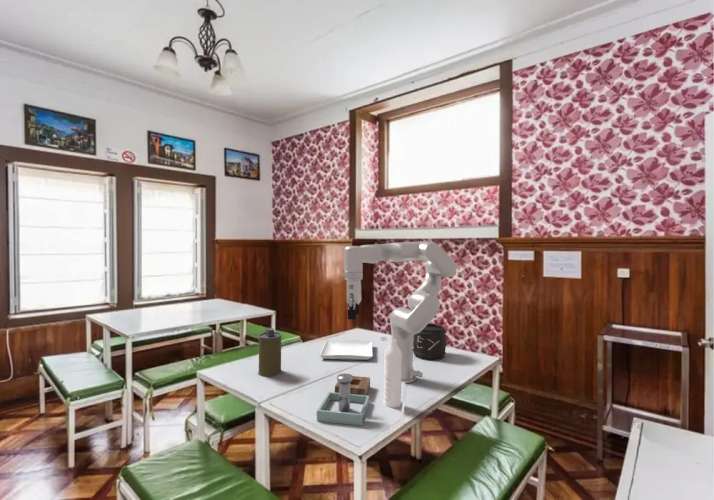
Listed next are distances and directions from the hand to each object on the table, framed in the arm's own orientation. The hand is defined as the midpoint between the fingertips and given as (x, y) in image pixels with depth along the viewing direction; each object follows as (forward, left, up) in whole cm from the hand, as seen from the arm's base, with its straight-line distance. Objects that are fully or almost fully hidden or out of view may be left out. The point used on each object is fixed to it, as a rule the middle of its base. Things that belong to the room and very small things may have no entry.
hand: (353, 316), depth 154 cm
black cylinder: (-32, -50, -30) cm, 66 cm away
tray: (-2, +23, -30) cm, 38 cm away
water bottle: (-17, +14, -30) cm, 37 cm away
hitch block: (-2, +7, -30) cm, 30 cm away
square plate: (+11, -44, -30) cm, 54 cm away
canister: (+40, -8, -30) cm, 51 cm away
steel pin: (-2, +23, -29) cm, 37 cm away
